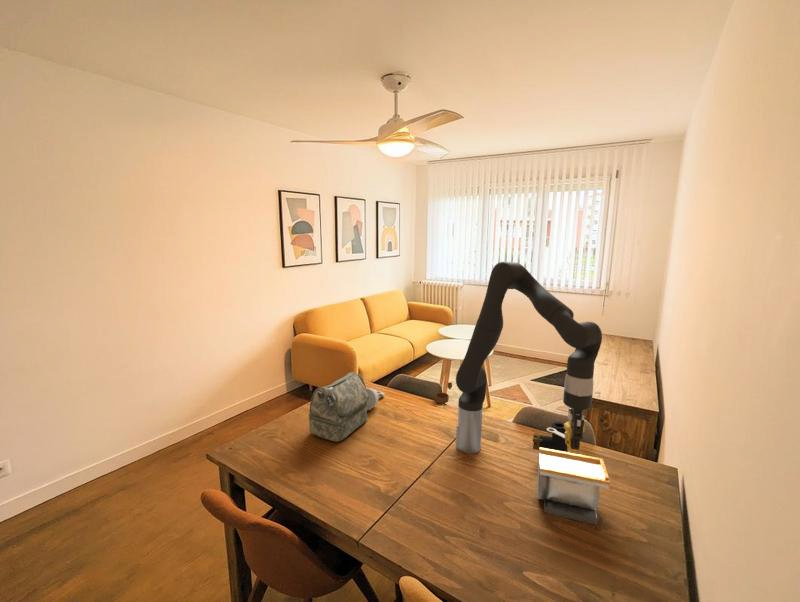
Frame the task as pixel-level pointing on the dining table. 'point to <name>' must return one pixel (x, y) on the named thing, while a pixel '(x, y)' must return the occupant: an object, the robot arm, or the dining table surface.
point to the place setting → (443, 396)
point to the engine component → (373, 397)
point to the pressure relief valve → (566, 434)
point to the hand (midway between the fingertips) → (573, 442)
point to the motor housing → (570, 484)
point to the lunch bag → (339, 408)
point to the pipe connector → (551, 439)
